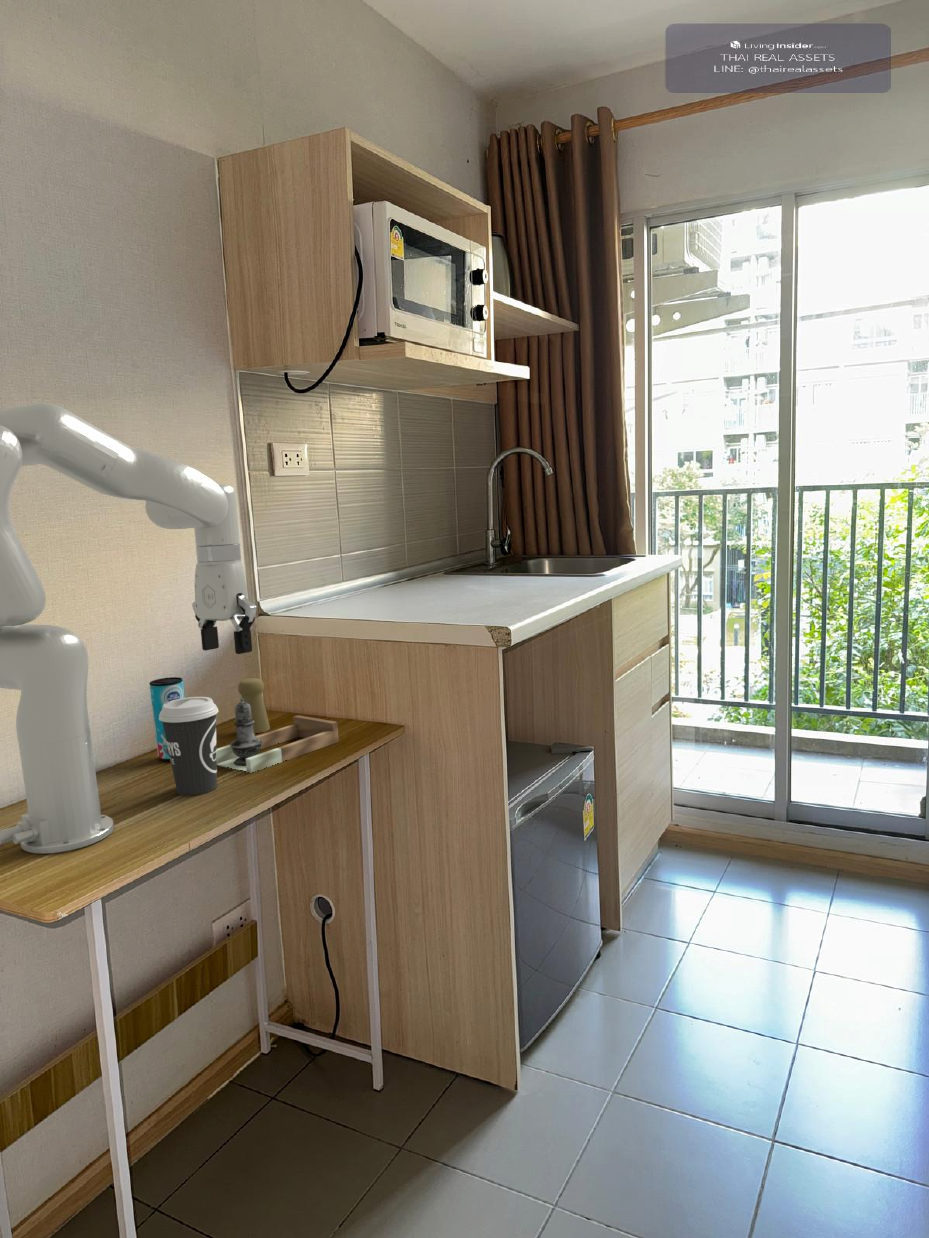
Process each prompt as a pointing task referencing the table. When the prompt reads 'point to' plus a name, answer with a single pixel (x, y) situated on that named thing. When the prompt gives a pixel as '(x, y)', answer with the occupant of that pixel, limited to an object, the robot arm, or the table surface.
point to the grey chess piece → (244, 735)
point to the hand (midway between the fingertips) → (227, 651)
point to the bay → (309, 728)
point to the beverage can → (160, 695)
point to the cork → (255, 702)
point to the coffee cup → (191, 743)
